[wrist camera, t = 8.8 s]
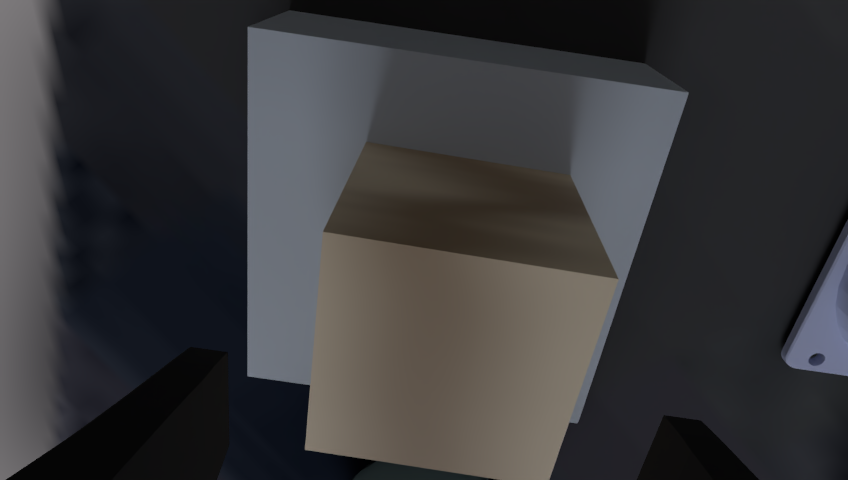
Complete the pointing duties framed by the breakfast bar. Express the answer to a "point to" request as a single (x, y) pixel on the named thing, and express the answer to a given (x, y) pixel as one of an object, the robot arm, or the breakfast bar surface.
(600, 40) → the breakfast bar surface
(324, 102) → the grey base block
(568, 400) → the maple cube
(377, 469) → the cup
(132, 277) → the breakfast bar surface
